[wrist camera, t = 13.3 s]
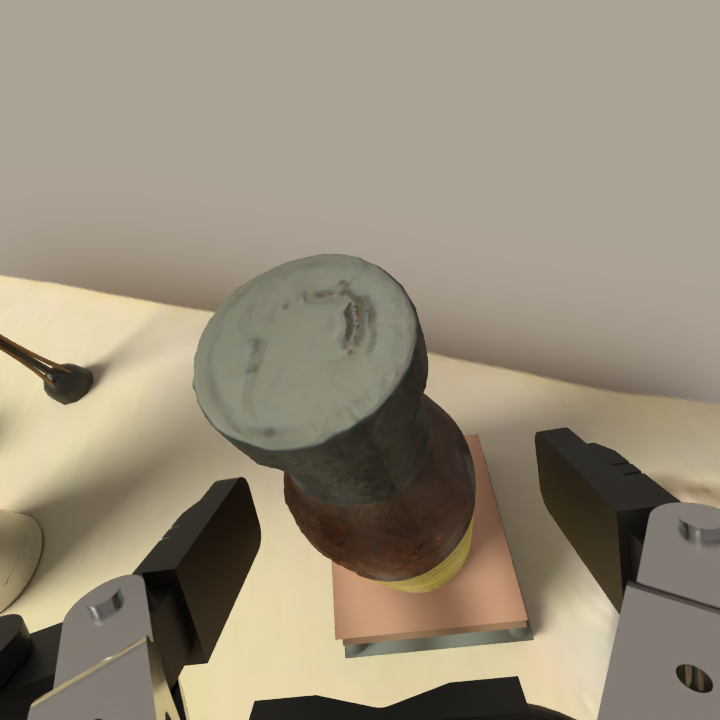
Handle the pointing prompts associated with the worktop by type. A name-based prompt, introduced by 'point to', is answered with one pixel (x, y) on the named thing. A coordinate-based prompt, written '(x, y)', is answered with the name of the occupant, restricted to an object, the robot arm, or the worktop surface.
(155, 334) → the worktop surface
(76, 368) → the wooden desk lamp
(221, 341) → the sauce bottle
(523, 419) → the worktop surface
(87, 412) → the worktop surface
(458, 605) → the copper and grey block
